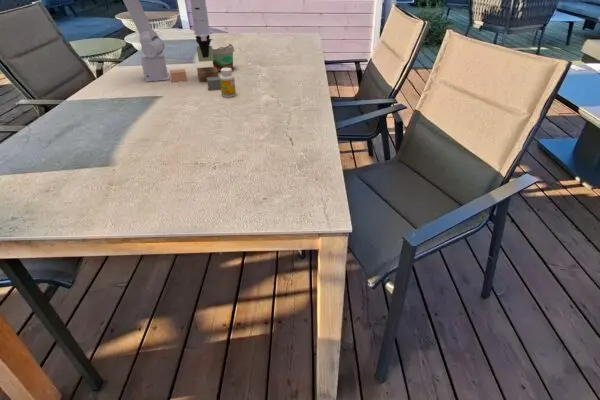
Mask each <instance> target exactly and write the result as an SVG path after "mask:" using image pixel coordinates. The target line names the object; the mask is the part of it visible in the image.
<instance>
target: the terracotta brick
mask: <svg viewBox="0 0 600 400" xmlns="http://www.w3.org/2000/svg"><path fill="white" fill-rule="evenodd" d="M169 75H170V79H171V82H173V83H179V81H183V82H188V78H187V72H186V69H185V68H181V69H170V70H169Z"/></svg>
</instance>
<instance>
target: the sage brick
mask: <svg viewBox="0 0 600 400" xmlns="http://www.w3.org/2000/svg"><path fill="white" fill-rule="evenodd" d="M213 49H214V48H213V46H212V45H209V57H205V58H203V56H202V52H201V49H200V46H199V45H198V46H196V50H197V58H198V62H199V63H200V62H203V63H204V62H213V61H214V58H213Z"/></svg>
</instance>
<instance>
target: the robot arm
mask: <svg viewBox="0 0 600 400" xmlns="http://www.w3.org/2000/svg"><path fill="white" fill-rule="evenodd" d="M189 1H190V6H191V15H192V22H193V29H194V35H195V39H196V43H197V44H198V46H200V49H201V52H202V56H203V58H205V57H209V46H211V45H210V44H211V42H212V40H211V36H210V34H211V35H212V34H214V32H213V30H210V26H209V25H210V24H209V18H208V17H209V16H208V10H207V9H208V7H207V2H206V0H189ZM123 3H124V5H125V7H126V9H127V12H128V13H129V15H130V18H131V20H132V21H133V24H134V25H135V27H136V30H137V32H138V33H139V43H140V45H141V51H142V54H143V55H144V57H143V56H142V57H141V58H140V61H141V62H140V63H141V66H142V71H143V75H144V80H145V82H156V81H157V82H159V81H168V80H170V72H169V73H168V67H167V62H166V59H165V53H164V50H165V43H164V41H163V40H162V39H161V38H160V36H159V35H158V33H157V32H156V30H154V29H153V28H152V26H151V23H150V22H149V19H148V17H147V15H146V12H145V11H144V9H143V6H142V4H141V2H140V0H123Z"/></svg>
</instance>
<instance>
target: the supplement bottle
mask: <svg viewBox="0 0 600 400" xmlns="http://www.w3.org/2000/svg"><path fill="white" fill-rule="evenodd" d="M220 73H221V75H219V77H220V84H221V90H220V92H221V96H222V97H224V98H233V97H235V96H236V95H237V93H236V81H235V75H234V74H233V70H232V69H231V68H222V69H221V72H220Z"/></svg>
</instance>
